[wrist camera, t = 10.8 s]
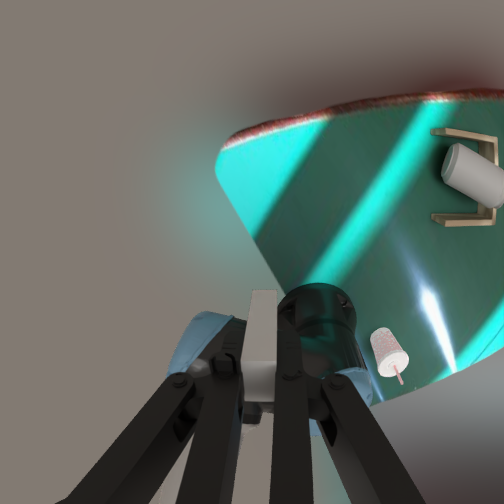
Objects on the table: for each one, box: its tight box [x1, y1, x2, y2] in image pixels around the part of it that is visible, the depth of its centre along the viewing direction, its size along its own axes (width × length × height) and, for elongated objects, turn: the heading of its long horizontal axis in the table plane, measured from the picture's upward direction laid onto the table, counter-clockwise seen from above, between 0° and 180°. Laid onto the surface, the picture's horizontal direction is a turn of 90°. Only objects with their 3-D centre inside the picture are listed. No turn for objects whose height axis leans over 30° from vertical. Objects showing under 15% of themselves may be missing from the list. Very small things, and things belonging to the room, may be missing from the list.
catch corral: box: [431, 128, 498, 227], centre depth 37 cm, size 16×13×5 cm
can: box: [441, 143, 504, 209], centre depth 34 cm, size 8×8×12 cm
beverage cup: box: [370, 328, 409, 385], centre depth 45 cm, size 6×6×14 cm
